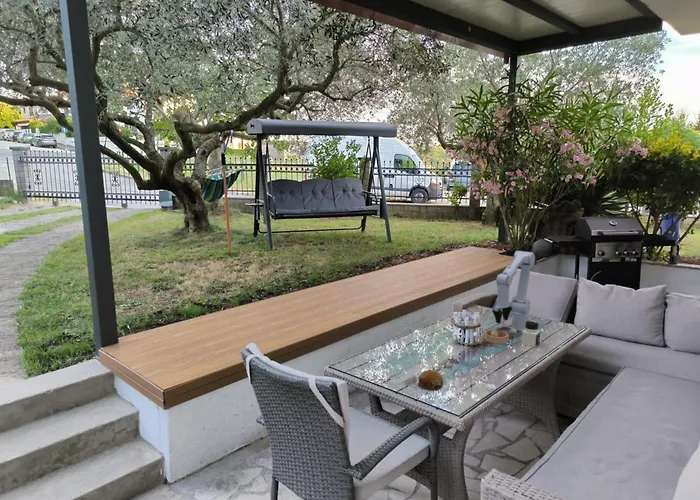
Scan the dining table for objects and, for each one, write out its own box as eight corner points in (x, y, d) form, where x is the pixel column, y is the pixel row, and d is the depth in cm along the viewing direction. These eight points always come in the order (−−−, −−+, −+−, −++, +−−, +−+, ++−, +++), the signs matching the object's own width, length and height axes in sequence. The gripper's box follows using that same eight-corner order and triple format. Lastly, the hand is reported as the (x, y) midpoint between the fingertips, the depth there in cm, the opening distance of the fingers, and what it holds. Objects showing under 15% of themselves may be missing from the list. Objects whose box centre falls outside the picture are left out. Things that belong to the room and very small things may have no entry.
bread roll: (440, 389, 201) (439, 370, 203) (446, 389, 191) (445, 369, 193) (417, 389, 200) (416, 370, 203) (422, 390, 190) (421, 369, 193)
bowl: (491, 335, 258) (491, 328, 257) (511, 340, 249) (512, 333, 249) (480, 340, 250) (480, 333, 249) (500, 345, 241) (500, 339, 241)
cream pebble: (492, 336, 254) (493, 329, 253) (499, 338, 251) (500, 331, 251) (488, 338, 251) (489, 330, 251) (495, 339, 248) (496, 332, 248)
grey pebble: (511, 333, 259) (511, 326, 258) (518, 335, 256) (518, 328, 255) (507, 335, 256) (508, 328, 255) (514, 337, 253) (514, 330, 252)
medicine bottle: (535, 347, 239) (537, 324, 237) (521, 344, 243) (522, 322, 242) (539, 343, 245) (541, 321, 243) (525, 340, 249) (527, 318, 247)
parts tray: (503, 329, 267) (503, 325, 266) (523, 334, 258) (523, 331, 258) (491, 334, 258) (492, 330, 258) (512, 340, 250) (512, 336, 249)
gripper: (503, 292, 257) (501, 316, 259) (489, 297, 247) (487, 322, 249) (515, 295, 252) (513, 319, 254) (501, 300, 242) (500, 325, 244)
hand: (501, 321), depth 252 cm, fingers open, 7 cm apart
